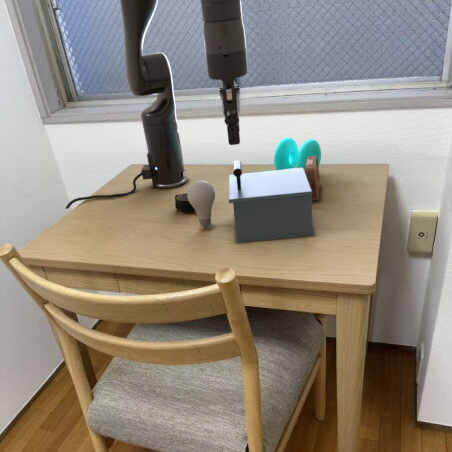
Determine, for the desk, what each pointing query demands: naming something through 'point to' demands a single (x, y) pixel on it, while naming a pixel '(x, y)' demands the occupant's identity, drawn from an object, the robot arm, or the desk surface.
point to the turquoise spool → (295, 153)
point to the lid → (267, 184)
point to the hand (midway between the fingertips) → (234, 138)
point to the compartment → (273, 218)
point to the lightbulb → (202, 201)
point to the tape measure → (183, 203)
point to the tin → (313, 175)
